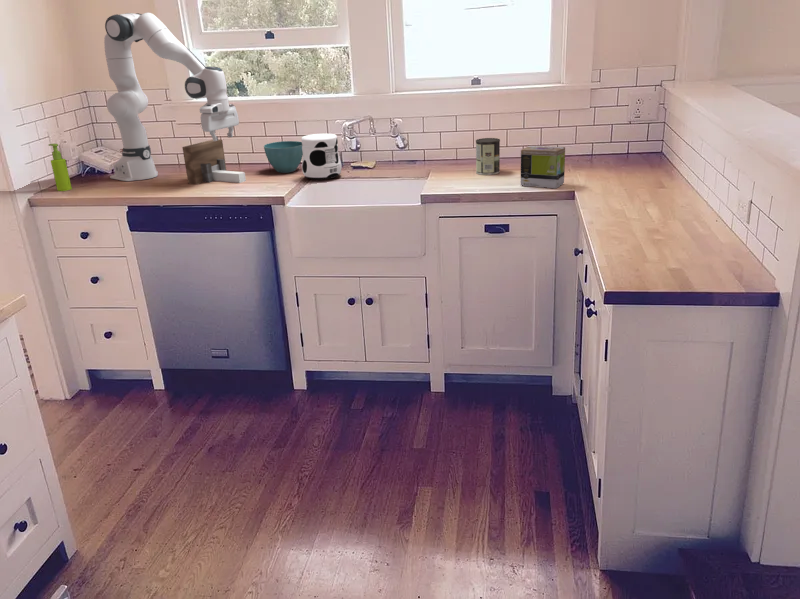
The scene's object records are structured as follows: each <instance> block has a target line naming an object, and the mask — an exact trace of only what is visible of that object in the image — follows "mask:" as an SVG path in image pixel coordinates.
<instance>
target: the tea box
mask: <svg viewBox="0 0 800 599" xmlns="http://www.w3.org/2000/svg"><path fill="white" fill-rule="evenodd" d="M565 164H566V146H549V145H548V146H547V145H546V146H544V145H543V146H542V145H528V146H526V147H524V148H522V149H521V150H520V186H521V185H523V186H522V187H530V186H537V187H536V188H544V187H547V188H546V189H558V188H559V187H561V186H562V185H564V184H563V183H565V168H566V165H565ZM560 185H561V186H560Z"/></svg>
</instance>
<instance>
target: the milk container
mask: <svg viewBox="0 0 800 599" xmlns="http://www.w3.org/2000/svg"><path fill="white" fill-rule="evenodd" d="M301 142H302V152H303V156H302V161H301V162H302V164H301V169H302V170H301V171H302V174H303V176H304V177H305V178H306V179H309V180H317V181H319V180H330V179H333V178H336V177H338V176H340V175H341V174H342V161H341V158H340V155H339V154H340V153H339V144H338V135H337V134H334V133H314V134H313V133H312V134H307V135H304V136H301Z"/></svg>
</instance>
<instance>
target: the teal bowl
mask: <svg viewBox="0 0 800 599" xmlns="http://www.w3.org/2000/svg"><path fill="white" fill-rule="evenodd" d="M263 149H264V154H265V156H266V159H267V160H268V163H269V164H270V165H271V167H272V168H273V169H274V170H275V171H276V172H277V173H281V174H285V173H286V174H287V173H292V172H295V171H296V170H297V169H298V167H299V166H300V163H301V162H302V160H303V152H302V141H297V140H283V141H282V140H281V141H275V142H269V143H266V144H264V145H263Z"/></svg>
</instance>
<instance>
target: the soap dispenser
mask: <svg viewBox="0 0 800 599" xmlns="http://www.w3.org/2000/svg"><path fill="white" fill-rule="evenodd" d="M48 146H51V147H52V150H53V151H52V152H51V154H52V159H51V160H50V164H51V169H52V173H53V176H54V180H55V186H56V190H57V191H58V192H66V191H70V190H72V189H73V188H72V184H71V179H70V175H69V170H68V166H67V160H66V158H63V156H62V153H61V151H60V150H59V149H58V146H59V143H49V144H48Z"/></svg>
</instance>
